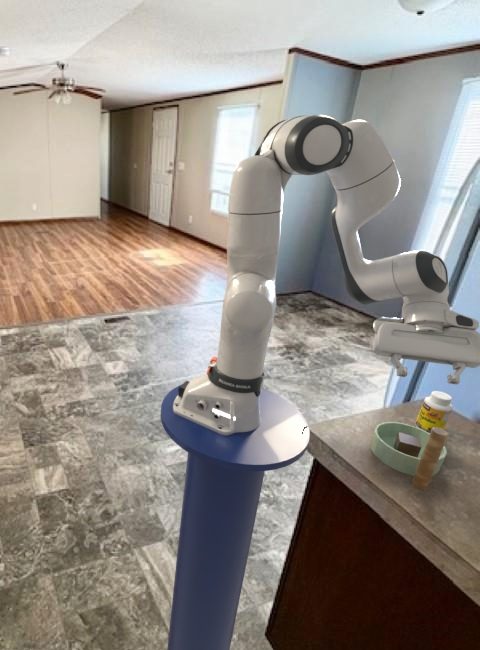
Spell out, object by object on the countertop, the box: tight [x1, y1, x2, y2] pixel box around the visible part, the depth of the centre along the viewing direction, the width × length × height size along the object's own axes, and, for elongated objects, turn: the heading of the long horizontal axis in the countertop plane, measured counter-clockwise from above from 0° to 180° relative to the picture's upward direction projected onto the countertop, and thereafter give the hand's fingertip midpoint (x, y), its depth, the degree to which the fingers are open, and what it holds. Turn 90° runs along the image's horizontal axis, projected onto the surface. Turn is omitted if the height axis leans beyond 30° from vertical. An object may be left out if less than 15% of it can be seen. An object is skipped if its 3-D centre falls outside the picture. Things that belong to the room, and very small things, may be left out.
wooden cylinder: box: [411, 427, 449, 491], centre depth 86 cm, size 3×3×14 cm
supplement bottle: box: [414, 390, 454, 433], centre depth 104 cm, size 6×6×10 cm
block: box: [394, 432, 421, 458], centre depth 96 cm, size 4×4×4 cm
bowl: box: [370, 421, 448, 477], centre depth 96 cm, size 13×13×4 cm
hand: (427, 379), depth 92 cm, fingers open, 8 cm apart
